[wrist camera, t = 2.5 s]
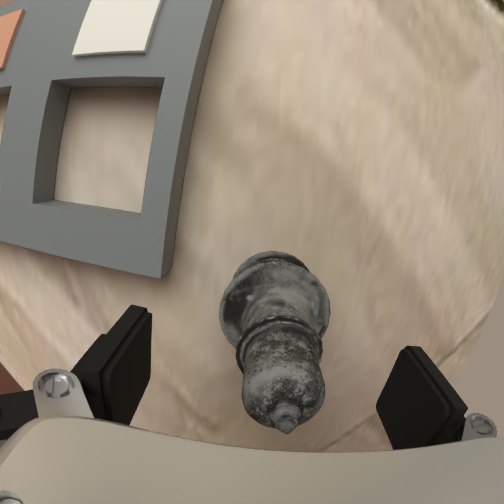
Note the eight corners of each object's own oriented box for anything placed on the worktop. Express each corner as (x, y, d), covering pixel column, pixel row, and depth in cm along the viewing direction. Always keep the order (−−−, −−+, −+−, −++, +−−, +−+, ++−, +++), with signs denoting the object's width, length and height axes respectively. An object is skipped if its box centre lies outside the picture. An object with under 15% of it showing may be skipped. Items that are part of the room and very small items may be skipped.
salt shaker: (327, 318, 20) (387, 457, 8) (242, 343, 21) (228, 493, 9) (305, 234, 19) (372, 321, 7) (212, 262, 19) (153, 378, 8)
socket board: (171, 266, 20) (158, 280, 17) (-44, 218, 19) (-65, 223, 16) (226, -12, 15) (221, -35, 12) (-9, 24, 15) (-27, 16, 12)
